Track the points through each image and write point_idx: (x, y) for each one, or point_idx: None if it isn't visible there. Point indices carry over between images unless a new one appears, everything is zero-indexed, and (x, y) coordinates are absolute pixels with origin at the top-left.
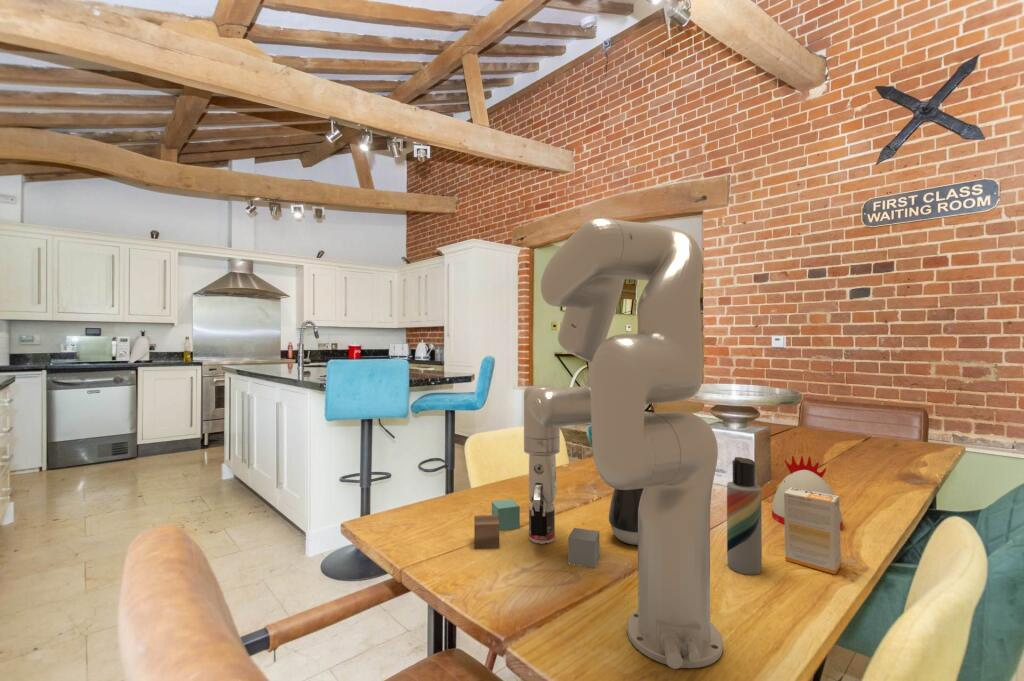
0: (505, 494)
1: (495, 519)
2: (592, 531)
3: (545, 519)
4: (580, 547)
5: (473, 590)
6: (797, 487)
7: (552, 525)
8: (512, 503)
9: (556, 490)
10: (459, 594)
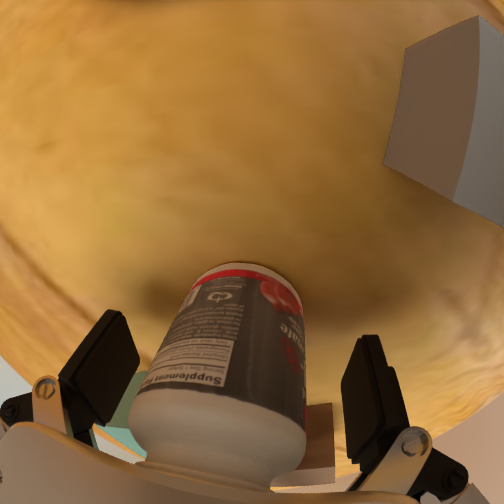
0: (21, 357)
1: (294, 472)
2: (497, 66)
3: (394, 410)
4: None
5: (491, 383)
6: None
7: (270, 324)
8: (129, 435)
9: (34, 433)
10: (491, 393)
